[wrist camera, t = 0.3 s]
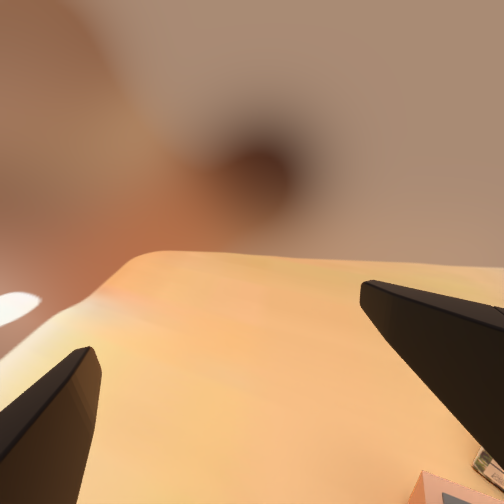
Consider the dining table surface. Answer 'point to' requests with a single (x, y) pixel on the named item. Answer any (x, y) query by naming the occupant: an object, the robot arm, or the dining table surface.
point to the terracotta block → (446, 492)
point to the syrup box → (489, 468)
